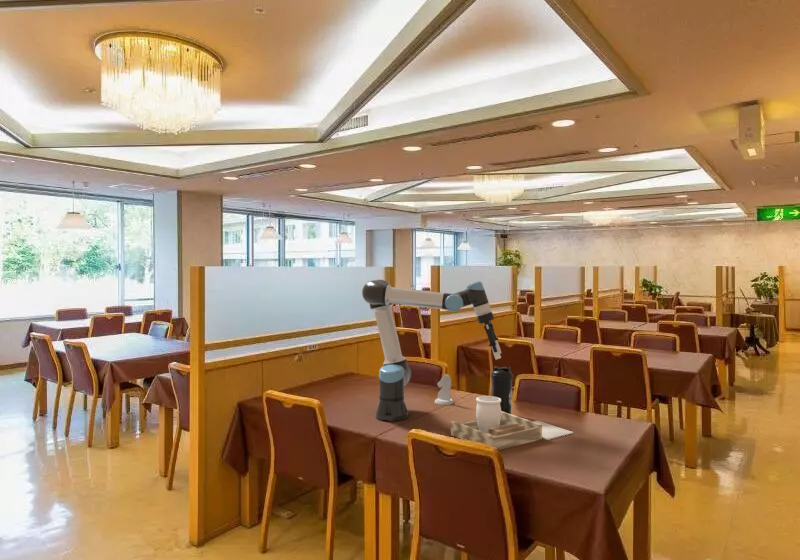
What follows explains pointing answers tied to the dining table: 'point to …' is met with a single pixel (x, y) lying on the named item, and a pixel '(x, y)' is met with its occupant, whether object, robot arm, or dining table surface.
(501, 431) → the offcut stack
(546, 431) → the mat
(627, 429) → the dining table surface
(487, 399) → the jar
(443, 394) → the chess piece
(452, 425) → the rack
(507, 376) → the water bottle
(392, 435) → the dining table surface
